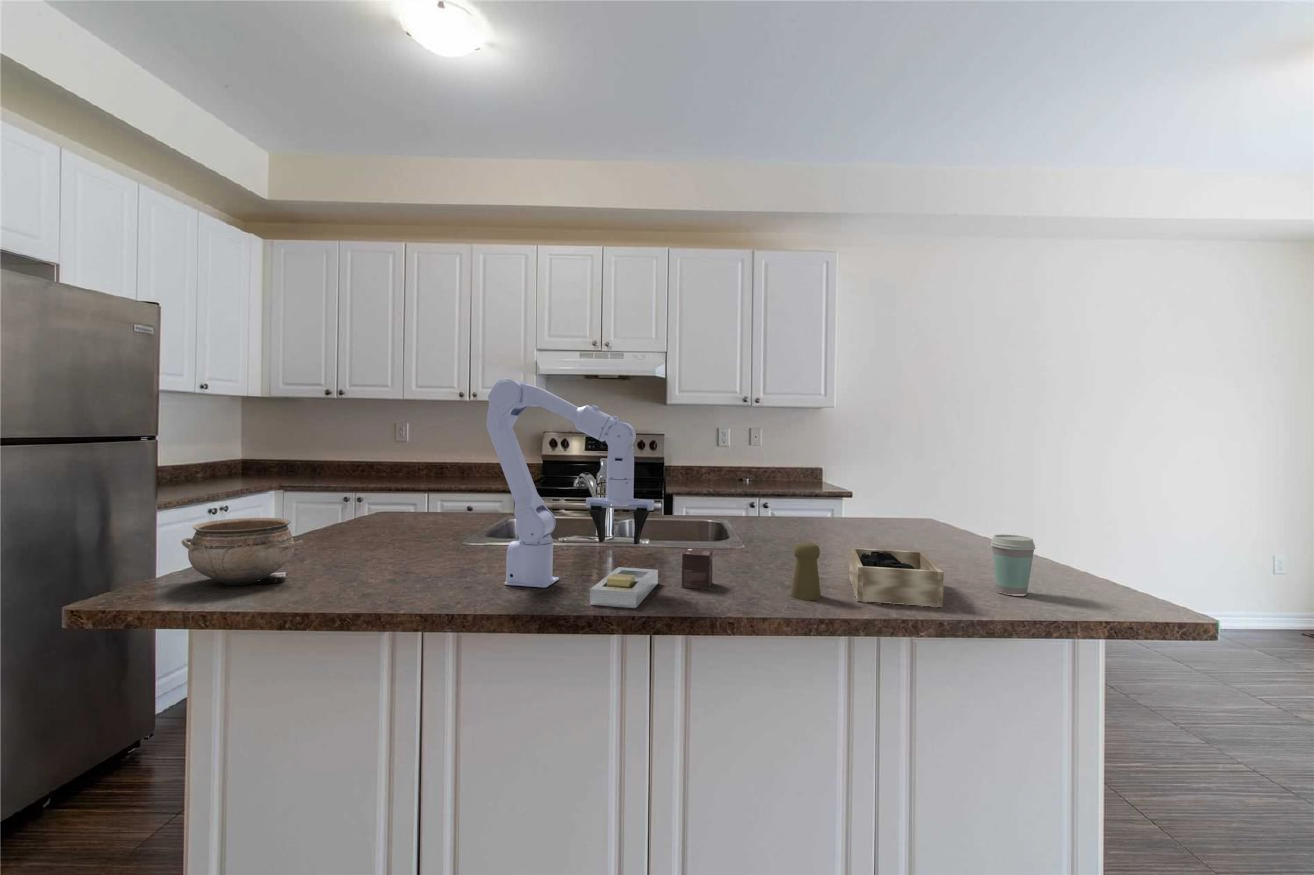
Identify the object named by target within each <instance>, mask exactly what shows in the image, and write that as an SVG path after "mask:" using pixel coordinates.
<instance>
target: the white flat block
mask: <svg viewBox="0 0 1314 875" xmlns="http://www.w3.org/2000/svg"><path fill="white" fill-rule="evenodd" d="M612 574H626V575H635V586H634V587H633V588H632V589H630V588H616V587H607V578H609V577H610V576H611V575H612ZM658 584H659V570H658V569H649V568H636V567H623V566H621V567H620V566H619V567H616V568H615V569H614V570H612V571H611V572H610V573H608V575H606V576H605V577H604V578H602V579H601V580H600V581H599V582H597V583H596V584H595V585H594V586H593V587H590V589H589V591H590V592H589V605H592V606H602V607H604V606H605V607H617V608H628V609H629V608H630V609H637V607H638V606H639V605H640V604H641V603H642V602H643V601H644V600H645V598H647V597H648V595H649V594H650V592H652V590H654V588H655V587H656V586H657V585H658Z"/></svg>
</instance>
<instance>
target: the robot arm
mask: <svg viewBox="0 0 1314 875" xmlns="http://www.w3.org/2000/svg"><path fill="white" fill-rule="evenodd" d="M487 399H488V409H487V414H486V420H485V421H486V422H485V426H486V430H487V432H488V436H489V438H490V441H491V443H492V445H493V448H494V451H495V453H496V456H497V458H498V462H499V464H500V467H501V470H502V472H503V474H504V477H505V479H506V482H507V485H508V488H509V491H510V493H511V495H512V498H513V502H514V508H513V509H514V511H513V514H514V516H515V521H516V524H515V531H516V535H517V537H518V540H512V541H511V542H509V544H508V546H507V550H506V557H505V558H506V560H505V563H506V564H505V565H506V566H505V567H506V568H505V582H504V585H505V586H506V585H507V586H521V587H531V588H532V587H533V588H534V587H535V588H544V589H545V588H547V587H549V586H552V584H554V583H555V582H557V581H558V580H560V577H559V576H553V571H554V570H553V565H554V564H553V560H554V558H553V557H554V554H553V553H554V539H553V537H552V535H551V534H552V533H553V531H554V530H555V527H556V524H557V523H556V522H557V521H556V517H555V515H554V513H553V512H551V510H549V508H548V507H547V505H546V503H545V500H543V498H542V497H541V496H540V495H539V493H538V491H537V488H536V485H535V483H534V481H533V478H532V475H531V473H530V470H529V467H528V465H527V462H526V459H525V457H524V454H523V452H522V449H521V446H520V443H519V441H518V438H517V435H516V432H515V430H514V425H515V424H516V421H517V420H518V418H519V416H520V414H522V413H523V412H524V411H525V410H526V409H527V408H528V407H534V408H535V407H541V408H544V409H546V410H547V411H550V412H553V413H554V414H557V415H559V416H561V417H563V418H566V419H568V420H570V421H572V422H573V424H574V427H575V429H576V430H577V431H579V432H582V433H584V434H586V435H587V436H590V437H592V438H594V439H595V440H598V441H599V442H604V441H605V443H606V445H607V458H606V459H607V461H606V497H586V498H585V508H589V512H588V513H589V515H590V517H591V519H592V521H593V523H594V526H595V528H596V533H597V536H598V543H603V542H605V540H606V518H607V517H606V516H607V510H608V509H624V510H625V509H626V510H634V511H633V524H634V526H633V528H634V532H633V533H634V534H633V545H638V544H640V542H641V541H640V539H641V536H642V531H643V530H644V529H643V528H644V526H645V523H646V521H647V519H648V517H649V515H650V513H651V511H654V510H655V499H654V500H653V499H639V498H634V485H635V484H634V483H635V482H634V481H635V457H634V453H635V449H634V443H635V441H636V440H637V435H636V434H637V433H636V430H635V429H634V427H633V426H632V425H631V424H629V423H628V421H619V417H618V416H616V415H613V416H612V415H609V414H608V413H606V412H603V411H601V410H600V407H599V406H597V405H595V404H593V405H592V406H591V405H589V404H586V405H584V406H581V407H579V406H577V405H575V404H573V403H571V402H569V401H567V400H565V399H563V398H561V397H560V396H557V395H555V393H552V392H549V391H548V390H546V389H544V388H542V387H538V386H535V385H532V384H527V383H526V382H523V381H516V380H513V379H510V378H502V379H500V380H498V381H497V382H496V383H495V384H494V385H493V386H492V388H491V390H490V392H489V394H488V395H487Z"/></svg>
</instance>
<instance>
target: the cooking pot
mask: <svg viewBox="0 0 1314 875" xmlns="http://www.w3.org/2000/svg"><path fill="white" fill-rule="evenodd" d="M290 523H291V520H290V519H286V518H278V517H241V518H240V517H239V518H229V519H220V520H219V519H218V520H212V521H205V522H199V523H197V524H194V525H192V529H193V530H194V531H195V532H194V534H193V537H192V538H190V537H186V538H183V539H182V540H181V544H182V546H183V547H184V548H185V549H187V550H188V551H187V556H188V561H189V563H190V565H191V567H192V568H193V569H194V570H195V571H196V572H198V573H199V574H200V575H203V576H205V577H207V578H209V579H212V580H214V581H217V582H219V583H222V584H224V585H226V586H243V585H252V584H255V583H258V582H257V581H258V580H261V579H262V580H264V579H265V578H267V577H268V576H270V575H272V574H274V573H276V572H277V571H279V570H280V569H281V568H283V567H284V566H285V565H286V564H287V563H288V562H289V561H290V559H291V558H292V556H293V554H294V550H295V548H297V547H299V546H301V545H303V544H304V540H303V539H300V540H297V541H294V538H293V535H292V532H291V530H290V528H289V526H288V525H289V524H290ZM263 578H264V579H263ZM262 580H261V581H262Z"/></svg>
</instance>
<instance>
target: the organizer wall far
mask: <svg viewBox="0 0 1314 875" xmlns="http://www.w3.org/2000/svg"><path fill="white" fill-rule="evenodd" d="M854 548H855V550H856V552H857V555H858V557H859V558H860V557H861V555H862V554H863V553H866V554H869V555H871V552H874V551H879V552H881V553H882V552H887V553H890V554H891V555H893V556H894V557H895V558H896V559H898V561H901V563H906V564H910V565H912V566H913V567H914V568H915V569H917V570H919V564H920V552H921V551H915V550H914V551H913V550H896V549H895V550H893V549H878V548H877V549H875V548H860V547H859V548H857V547H854Z"/></svg>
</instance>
